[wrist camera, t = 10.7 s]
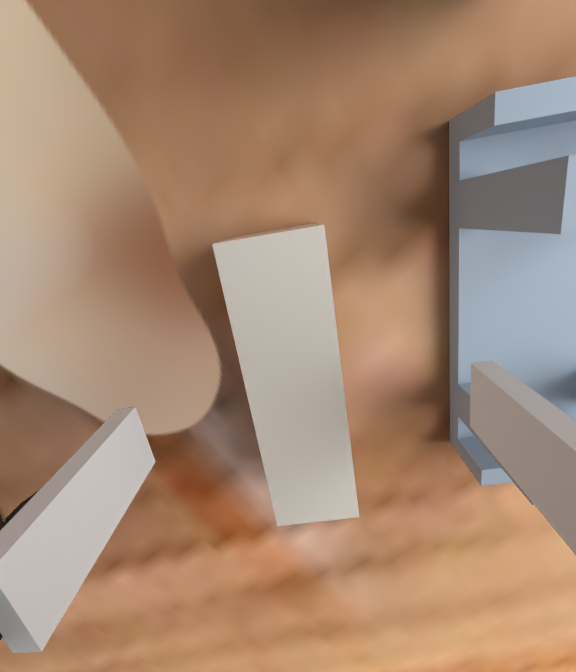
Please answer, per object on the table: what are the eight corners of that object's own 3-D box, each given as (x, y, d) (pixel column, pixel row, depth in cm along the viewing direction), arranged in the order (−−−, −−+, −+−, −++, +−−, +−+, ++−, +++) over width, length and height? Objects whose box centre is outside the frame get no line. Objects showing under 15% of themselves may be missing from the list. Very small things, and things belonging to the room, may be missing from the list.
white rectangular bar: (343, 448, 21) (359, 517, 16) (280, 456, 21) (277, 526, 16) (314, 222, 16) (324, 224, 11) (235, 236, 16) (211, 244, 12)
